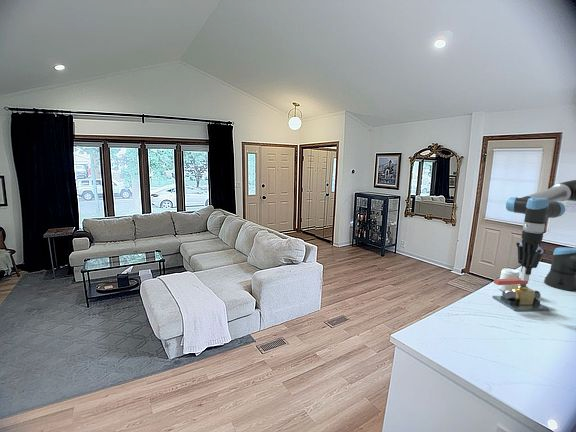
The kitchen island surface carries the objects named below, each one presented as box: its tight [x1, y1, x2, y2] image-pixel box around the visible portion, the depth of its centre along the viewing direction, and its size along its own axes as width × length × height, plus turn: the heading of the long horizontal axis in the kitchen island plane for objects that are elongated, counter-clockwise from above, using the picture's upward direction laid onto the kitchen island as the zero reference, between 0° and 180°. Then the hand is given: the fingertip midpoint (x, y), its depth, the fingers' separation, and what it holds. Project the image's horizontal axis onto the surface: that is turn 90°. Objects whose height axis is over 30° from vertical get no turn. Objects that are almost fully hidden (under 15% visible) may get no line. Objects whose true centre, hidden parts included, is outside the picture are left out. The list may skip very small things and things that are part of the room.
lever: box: [493, 277, 529, 287], centre depth 148 cm, size 17×3×4 cm, turn 100°
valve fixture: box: [492, 284, 550, 312], centre depth 150 cm, size 18×14×10 cm
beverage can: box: [498, 267, 520, 292], centre depth 166 cm, size 8×8×12 cm
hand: (524, 280), depth 141 cm, fingers closed
